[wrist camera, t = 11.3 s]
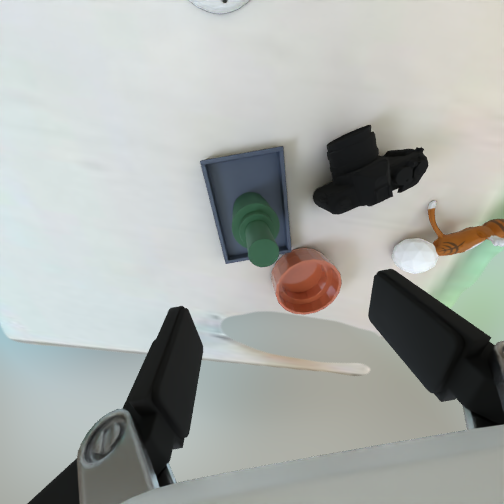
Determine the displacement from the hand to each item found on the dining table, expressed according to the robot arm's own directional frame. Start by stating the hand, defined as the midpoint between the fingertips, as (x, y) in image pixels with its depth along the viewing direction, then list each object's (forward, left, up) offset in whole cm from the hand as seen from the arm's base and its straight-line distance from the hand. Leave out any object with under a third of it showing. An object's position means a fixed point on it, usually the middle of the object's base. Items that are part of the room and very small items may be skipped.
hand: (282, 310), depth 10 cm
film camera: (-4, +17, -26) cm, 31 cm away
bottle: (+1, 0, -25) cm, 25 cm away
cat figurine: (+10, +34, -26) cm, 44 cm away
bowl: (+15, +8, -26) cm, 31 cm away
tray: (0, 0, -26) cm, 26 cm away
